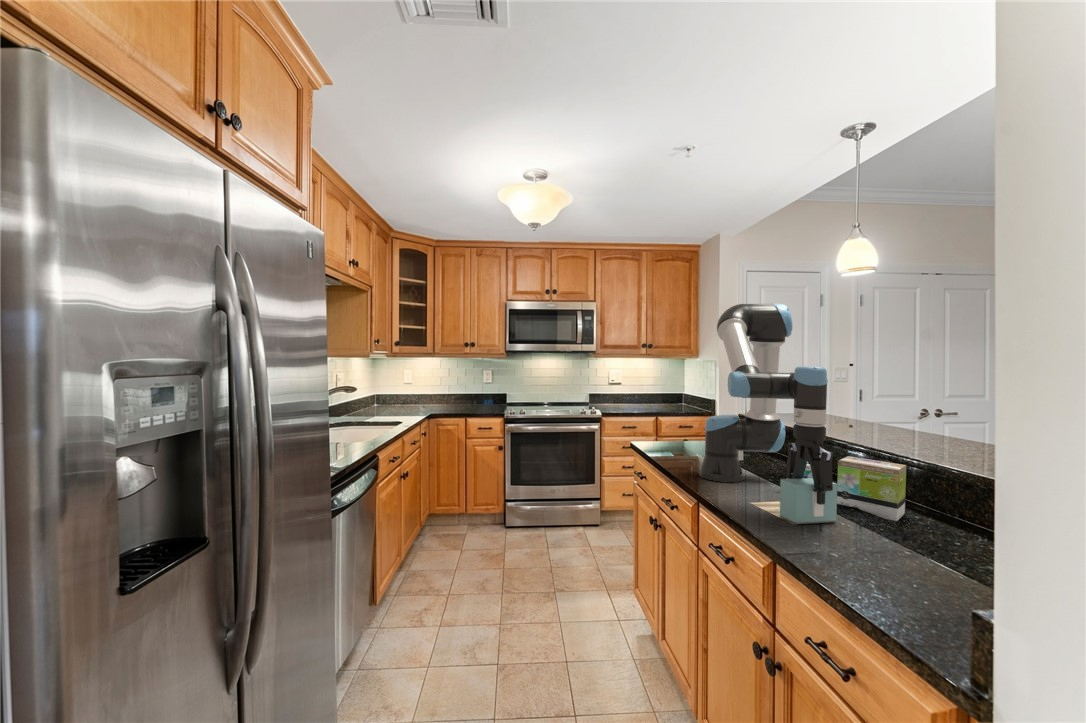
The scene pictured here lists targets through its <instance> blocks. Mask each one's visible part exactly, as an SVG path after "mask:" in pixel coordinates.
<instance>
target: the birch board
mask: <svg viewBox="0 0 1086 723" xmlns="http://www.w3.org/2000/svg"><path fill="white" fill-rule="evenodd" d="M750 504H751V505H753V506H754V507H757V508H759V509H761V510H763V511H765V512H768V513H770V514H772V515H774V516H776V517H778V518H780V519H782V520H783V521H785V522H788V523H790V524H792V525H796V524H795V523H793V522H790V521H788V520H786V519H784V518H782V517H780V500H779V501H761V502H750Z"/></svg>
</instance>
